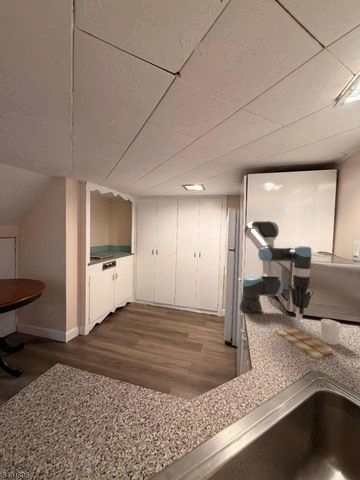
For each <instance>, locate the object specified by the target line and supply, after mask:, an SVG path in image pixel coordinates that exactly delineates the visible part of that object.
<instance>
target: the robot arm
mask: <svg viewBox="0 0 360 480" xmlns="http://www.w3.org/2000/svg"><path fill="white" fill-rule="evenodd" d="M279 231H280V230H279V226H278V224H277V223H276V222H274V221H270V220H268V221H264V220H263V221H262V220H258V221H256V220H254V221H251V222H249V223H247V224H246V226H245V228H244V235H245V237H246V238H247V239H249V240H250V241H251V242H252V244H253V245H254V246H255V247H256V249H257V250H258V251H257V252H258V254H257V255H258V259H259V260H260V261H262V275H261V277H260V276H254V275H250V276H246V277H244V278H243V280H242V285H241V286H242V292H241V295H242V298H241V300H240V303H239V310H240V311H241V312H243V313H246V314H253V315H257V314H261V313H262V312H263V308H262V304H261V301H260V297H262V296H263V297H267V296H268V297H269V296H270V297H276V296H277V297H278V296H280V295H281V294H282V293H283V290H284V282H283V280H282V279H281V278H280V276H279V275H278V274H277V269H276V268H277V267H276V265H277V264H276V262H292V263H293V276H292V277H293V279H292V282H293V283H292V284H293V285H289V289H290V294H291V295H290V296H291V301H292V304H293V305H294V306H295V310H294V312H295V320H298V321H299V320H303V315H304V314H305V313H304V312H305V309H308V308H309V305H310V301H311V298H312V296H313V294H314V291H311V290H310V287H309V285H310V282H311V281H310V280H311V277H310V276H311V266H312V256H313V255H312V248H311V247H310V246H305V245H304V246H303V245H302V246H300V245H298V246H295V247H294V248H293V247H284V248H282V247H275V240H277V237H278V236H279Z"/></svg>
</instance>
